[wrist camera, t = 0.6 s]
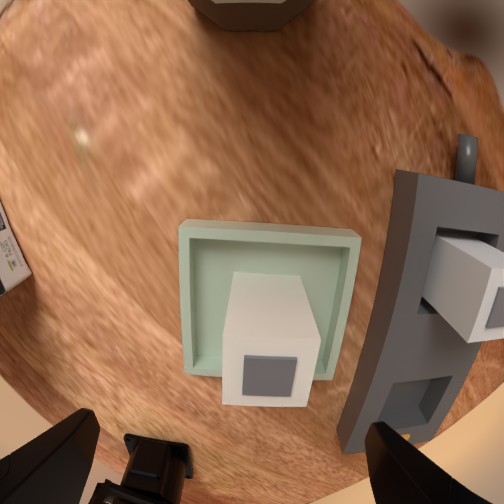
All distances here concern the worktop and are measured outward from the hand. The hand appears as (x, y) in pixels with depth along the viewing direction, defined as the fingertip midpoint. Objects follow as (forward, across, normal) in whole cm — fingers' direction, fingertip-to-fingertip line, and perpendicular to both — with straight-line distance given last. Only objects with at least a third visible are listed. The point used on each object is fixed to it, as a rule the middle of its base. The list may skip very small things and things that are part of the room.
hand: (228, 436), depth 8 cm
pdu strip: (+12, -13, +2) cm, 18 cm away
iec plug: (+12, -2, +1) cm, 12 cm away
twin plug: (+11, -14, -2) cm, 18 cm away
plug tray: (+12, -2, +1) cm, 12 cm away
